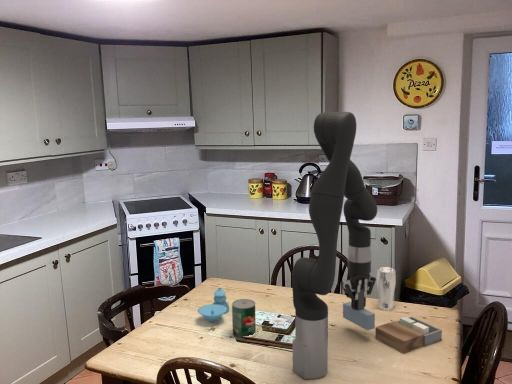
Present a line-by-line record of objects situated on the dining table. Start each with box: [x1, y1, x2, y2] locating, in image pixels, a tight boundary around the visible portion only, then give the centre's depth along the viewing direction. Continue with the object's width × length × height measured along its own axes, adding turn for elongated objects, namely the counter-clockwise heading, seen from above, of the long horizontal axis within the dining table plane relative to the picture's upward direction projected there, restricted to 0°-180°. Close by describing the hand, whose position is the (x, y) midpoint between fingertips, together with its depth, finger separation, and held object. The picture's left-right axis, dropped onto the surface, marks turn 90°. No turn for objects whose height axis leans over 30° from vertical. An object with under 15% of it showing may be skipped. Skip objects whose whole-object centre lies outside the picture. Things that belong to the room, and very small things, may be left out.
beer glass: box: [376, 266, 397, 311], centre depth 180 cm, size 7×7×15 cm
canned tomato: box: [231, 298, 257, 340], centre depth 159 cm, size 8×8×11 cm
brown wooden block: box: [374, 320, 424, 354], centre depth 152 cm, size 9×12×4 cm
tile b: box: [399, 316, 416, 329], centre depth 158 cm, size 4×4×2 cm
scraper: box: [342, 288, 376, 331], centre depth 157 cm, size 3×12×12 cm, turn 31°
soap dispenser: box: [197, 287, 230, 324], centre depth 174 cm, size 18×10×9 cm, turn 167°
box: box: [395, 316, 443, 347], centre depth 157 cm, size 8×13×4 cm, turn 30°
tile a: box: [412, 322, 429, 335], centre depth 153 cm, size 4×4×2 cm
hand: (358, 308), depth 157 cm, fingers closed on scraper, 2 cm apart
